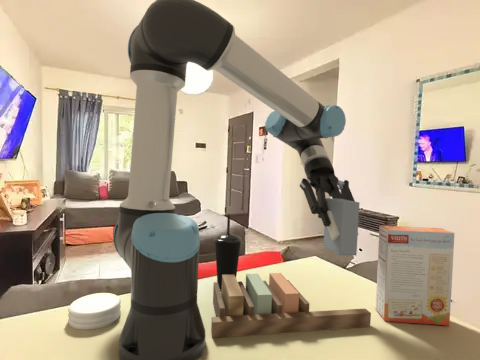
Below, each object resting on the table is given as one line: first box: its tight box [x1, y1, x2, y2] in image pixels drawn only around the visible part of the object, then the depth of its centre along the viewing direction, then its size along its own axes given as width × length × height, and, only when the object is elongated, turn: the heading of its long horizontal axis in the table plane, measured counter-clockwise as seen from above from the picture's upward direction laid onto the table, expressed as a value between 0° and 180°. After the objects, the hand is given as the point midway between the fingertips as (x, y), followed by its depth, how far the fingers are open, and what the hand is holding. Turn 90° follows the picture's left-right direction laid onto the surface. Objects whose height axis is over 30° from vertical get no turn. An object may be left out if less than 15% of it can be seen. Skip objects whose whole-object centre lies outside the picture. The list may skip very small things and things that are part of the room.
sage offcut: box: [245, 273, 272, 315], centre depth 66 cm, size 3×12×7 cm, turn 11°
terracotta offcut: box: [268, 272, 299, 313], centre depth 67 cm, size 3×12×7 cm, turn 11°
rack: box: [210, 279, 372, 339], centre depth 66 cm, size 34×14×5 cm, turn 101°
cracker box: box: [375, 224, 455, 327], centre depth 67 cm, size 14×6×21 cm, turn 84°
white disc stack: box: [67, 292, 122, 331], centre depth 62 cm, size 10×10×4 cm
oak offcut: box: [220, 274, 244, 316], centre depth 65 cm, size 3×12×7 cm, turn 11°
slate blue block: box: [322, 197, 360, 257], centre depth 69 cm, size 4×8×12 cm, turn 10°
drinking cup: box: [213, 214, 243, 291], centre depth 80 cm, size 8×8×20 cm
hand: (345, 237), depth 67 cm, fingers closed on slate blue block, 4 cm apart
